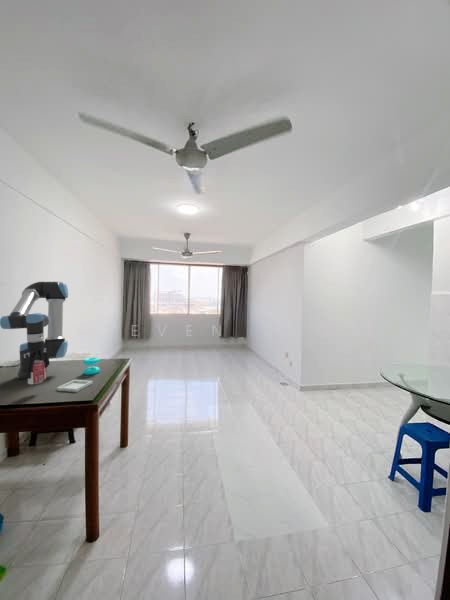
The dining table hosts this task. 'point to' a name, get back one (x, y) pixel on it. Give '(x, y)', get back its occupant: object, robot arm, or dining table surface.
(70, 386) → the dish
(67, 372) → the dining table surface
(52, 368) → the dining table surface
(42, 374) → the soda can
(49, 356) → the robot arm
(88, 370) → the donuts
